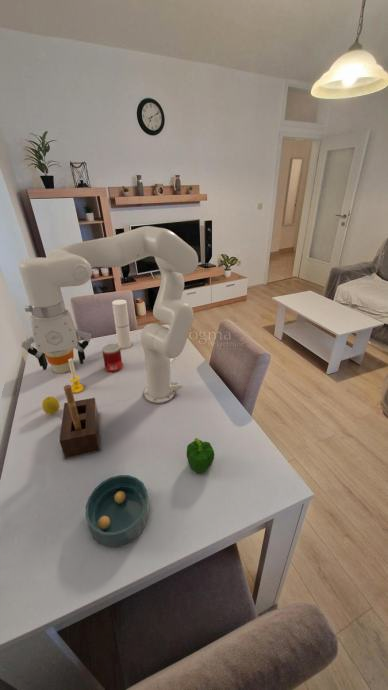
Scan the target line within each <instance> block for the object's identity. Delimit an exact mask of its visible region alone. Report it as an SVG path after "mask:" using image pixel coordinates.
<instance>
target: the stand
mask: <svg viewBox="0 0 388 690" xmlns="http://www.w3.org/2000/svg"><path fill="white" fill-rule="evenodd" d="M75 404H76V407H77V411H78V415H79V419H80V423H81V427H82V429H81V430H76V431H75V427H74V424H73V420H72V416H71V413H70V409H69V405H68V402H64V403H63V410H62V417H61V426H60V434H59V444H60V448H61V450H62V453H63V454H62V455H63V457H64V459H68V458H72V457H77V456H78V457H79V456H82V455H86V454H91V453H95V452H99V451H100V433H99V432H100V429H99V427H100V425H99V411H98V406H97V402H96V397H91V398H85V399H80V400H75Z"/></svg>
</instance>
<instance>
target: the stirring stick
mask: <svg viewBox="0 0 388 690" xmlns="http://www.w3.org/2000/svg"><path fill="white" fill-rule="evenodd" d="M63 391H64V394H65V398H66V403H68V405H69V409H70V413H71V416H72V420H73V424H74V427H75V431H76V430H81V429H82V427H81V423H80V419H79V415H78V411H77V407H76V404H75V401H76V400H75V397H74V393H73V392H72V385H71V384H66V385H64V386H63Z"/></svg>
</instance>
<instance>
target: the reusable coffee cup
mask: <svg viewBox="0 0 388 690" xmlns="http://www.w3.org/2000/svg"><path fill="white" fill-rule="evenodd" d="M45 357H46V360H47V363H48V364H50V367H51V369H52V371H53V372H54V373H57V374H63V373H68V372H69V371H70V372H71V370H70V366H69V361H68V360H69V359H70V358H72V361H73V362H74V349H69V350H63V351H56V352H48V353H45Z"/></svg>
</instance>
